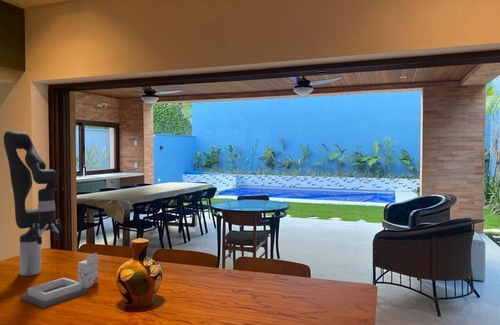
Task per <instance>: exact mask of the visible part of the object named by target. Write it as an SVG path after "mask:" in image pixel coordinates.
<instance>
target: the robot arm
mask: <svg viewBox="0 0 500 325" xmlns="http://www.w3.org/2000/svg"><path fill="white" fill-rule="evenodd" d="M3 145H4V149H5V154H6V156H7V162H8V167H9V173H10V174H9V175H10V182H11V187H12V194H13V201H14V216H15V219H14V220H15V223H16V224H15V225H16V226H17V228H19V229H21V230H23V229H28V230H27V231H26V232H25V233H23V234H21V235H20V236H19V276H22V277H29V276H31V277H32V276H36V275H39V274H40V273H41V272H42V271H41V270H42V268H41V258H42V257H41V245H42V244H43V243H42V242H43V240H42V238H43V237H42V236H43V234H44V233H45V232H47V231H52V232H53V241H55V242H56V241H59V237H60V236H59V233H60V232H62V231H63V224H62V219H59V218H57V219H56V216H57V215H56V203H55V191H56V185H57V181H58V172H57V171H56V170H54V169H50V168H49V169H47V168H46V167H47V165H46V162H44V160H43V159H42V158H41V156H40V155H39V153H38V152H37V150H36V147H35V145H34V143H33V141H32V138H31V137H30V135H29V134H28V133H27V132H24V131H14V130H13V131H12V130H11V131H5V132H4V134H3ZM18 150H24V151H25V152H26V153H25V156H24V161H25V162H24V161H22V159H21V158H20V156H19V154H18V152H17V151H18ZM33 182H35V184H37V185H46V186H45V187H44V188H40V189H38V192H37V196H38V197H37V198H38V200H37V201H38V202H37V203H38V204H37V208H32V209H30V208H29V209H26V199H27V198H28V194H29V193H30V191H31V189H32V186H33Z"/></svg>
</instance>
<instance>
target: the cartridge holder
mask: <svg viewBox="0 0 500 325" xmlns="http://www.w3.org/2000/svg"><path fill="white" fill-rule="evenodd" d="M85 294H89V289H88V288H83V287H82V283H80V282H78V280H77V281H76V280H73V279H70V278H67V277H62V278H58V279H54V280H51V281H48V282H44V283H41V284H40V283H39V284H37V285H34V286H30V287H27V293H23V294H20V299H21V300H22V301H25V302H26V303H27V302H28V303H30V304H33V305H35V306H37V307H40V308H43V309H44V308H47V307H50V306H55V305H57V304H59V303H62V302H65V301H68V300H71V299H75V298H77V297H80V296H82V295H85Z"/></svg>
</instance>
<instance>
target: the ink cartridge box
mask: <svg viewBox="0 0 500 325" xmlns="http://www.w3.org/2000/svg"><path fill="white" fill-rule="evenodd" d="M85 258H86V259H84V260H82V261H79V262H77V272H78V274H77V282H80V283H82V287H83V288H86V289H88V288H90V287H93V286H94V285H95V284H97V283H98V282H99V268H98V266H99V265H98V264H99V262H98V260H99V259H98V252H94V253H93V254H92V253H91V254H90V255H87V256H86V257H85Z"/></svg>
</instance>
